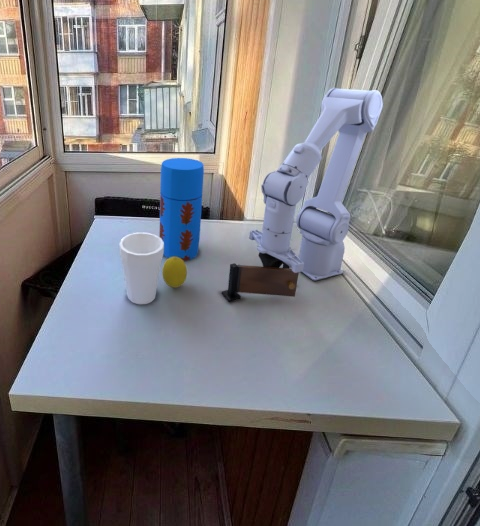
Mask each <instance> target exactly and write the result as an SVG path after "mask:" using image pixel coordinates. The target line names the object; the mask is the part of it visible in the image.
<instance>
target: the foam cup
mask: <svg viewBox="0 0 480 526" xmlns="http://www.w3.org/2000/svg"><path fill="white" fill-rule="evenodd" d="M118 245H119V246H118V251H119V256H120V259H121V265H122V272H123V277H124V278H123V279H124V282H125V284H124V285H125V290H126V295H127V299H128V300H129V301H131V303H133V304H137V305H147V304H150V303H152V302H153V301H154V300H155V299H156V295H157V291H158V290H157V289H158V284H159V277H160V272H161V265H162V260H163V258H164V255H163V253H164V242H163V241H162V239H161V238H160V237H159V235H156V234H155V233H151V232H147V231H145V232H143V231H142V232H132V233H128V234H126V235H125V236H123V237H121V240H119V243H118Z"/></svg>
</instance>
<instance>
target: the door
mask: <svg viewBox="0 0 480 526" xmlns="http://www.w3.org/2000/svg"><path fill="white" fill-rule="evenodd" d="M236 265H237V266H238V272H237V282H236V291H235V292H237V293H238V294H239V293H242V294H243V293H244V294H255V295H266V296H279V297H281V296H282V297H291V298H295V297H296V292H297V286H298V280H299V274H300V272H297V273H294V272H293V271H292V268H290V269H289V268H282V267H280V268H275V267H263V266H261V265H246V264H245V265H244V264H236Z"/></svg>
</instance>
